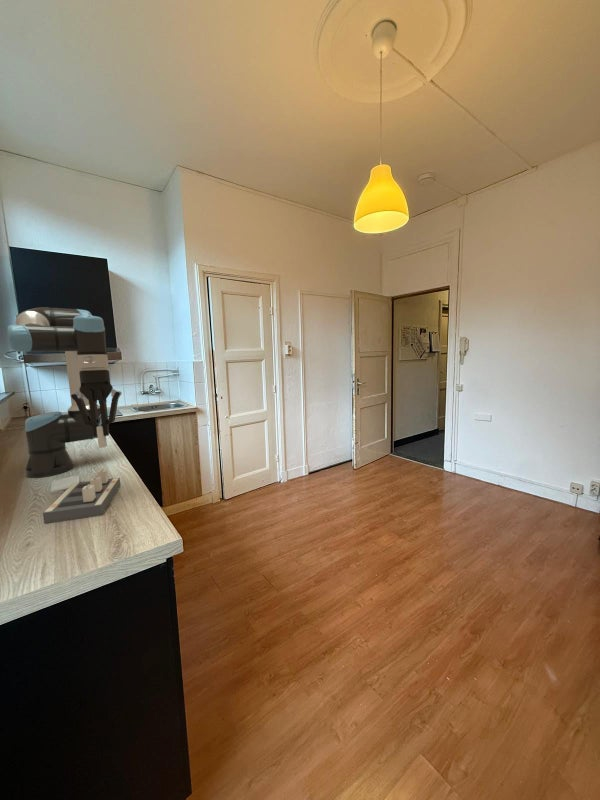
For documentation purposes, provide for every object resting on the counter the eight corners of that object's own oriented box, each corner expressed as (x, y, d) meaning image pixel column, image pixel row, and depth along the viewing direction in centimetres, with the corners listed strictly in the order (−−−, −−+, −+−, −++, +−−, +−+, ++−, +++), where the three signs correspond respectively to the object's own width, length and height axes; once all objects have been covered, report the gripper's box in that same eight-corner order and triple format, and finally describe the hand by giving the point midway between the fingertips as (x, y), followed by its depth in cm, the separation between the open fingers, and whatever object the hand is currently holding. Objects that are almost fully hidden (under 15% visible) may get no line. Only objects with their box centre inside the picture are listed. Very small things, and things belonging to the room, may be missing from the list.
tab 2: (93, 489, 100) (92, 476, 100) (102, 488, 101) (100, 475, 100) (91, 492, 98) (89, 479, 97) (100, 491, 99) (98, 478, 98)
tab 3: (100, 481, 107) (99, 468, 106) (108, 480, 108) (107, 468, 107) (98, 484, 105) (96, 471, 104) (106, 483, 105) (105, 470, 105)
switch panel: (74, 491, 107) (73, 482, 107) (120, 485, 112) (119, 477, 111) (44, 523, 87) (42, 512, 86) (102, 514, 91) (101, 504, 90)
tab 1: (86, 498, 94) (84, 484, 93) (95, 497, 94) (94, 483, 94) (83, 502, 91) (81, 487, 91) (93, 501, 92) (91, 486, 91)
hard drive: (52, 480, 115) (49, 491, 105) (79, 474, 120) (79, 485, 110) (52, 484, 116) (50, 496, 105) (80, 479, 120) (80, 489, 110)
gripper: (63, 370, 89) (73, 452, 91) (115, 368, 92) (123, 447, 95) (73, 370, 96) (82, 446, 99) (121, 368, 99) (129, 441, 102)
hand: (102, 446), depth 97 cm, fingers closed
